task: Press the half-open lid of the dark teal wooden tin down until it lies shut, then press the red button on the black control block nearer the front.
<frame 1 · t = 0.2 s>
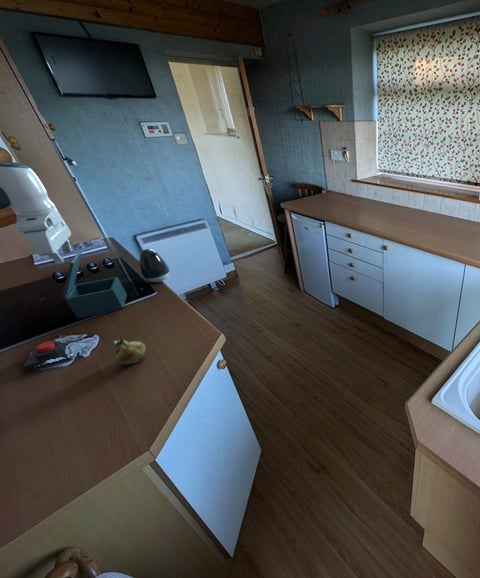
hand: (65, 257, 99), 25 cm above the worktop, tool pointing down, fingers open, 8 cm apart
onion: (134, 360, 92), on the worktop
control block: (54, 357, 93), on the worktop
lid: (72, 274, 108), point 15 cm above the worktop, hinge at 60.0°
black egg-shaped dome: (159, 280, 136), on the worktop
button: (46, 347, 90), point 4 cm above the worktop, slide at 0.1 cm
tin: (104, 306, 117), on the worktop
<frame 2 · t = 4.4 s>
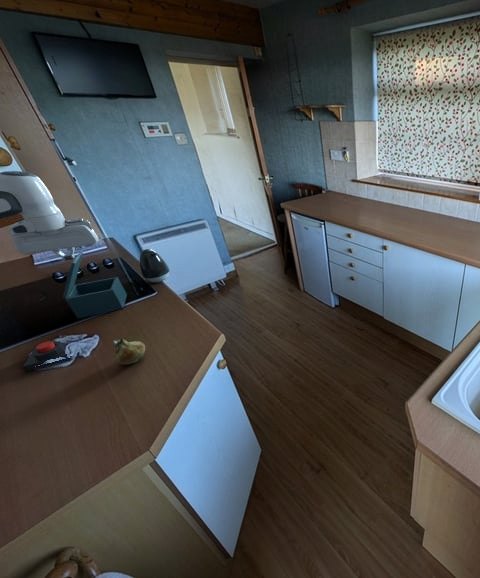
hand: (70, 259, 105), 21 cm above the worktop, tool pointing down, fingers closed
lid: (73, 274, 108), point 15 cm above the worktop, hinge at 58.6°, touching gripper
everything else where it was.
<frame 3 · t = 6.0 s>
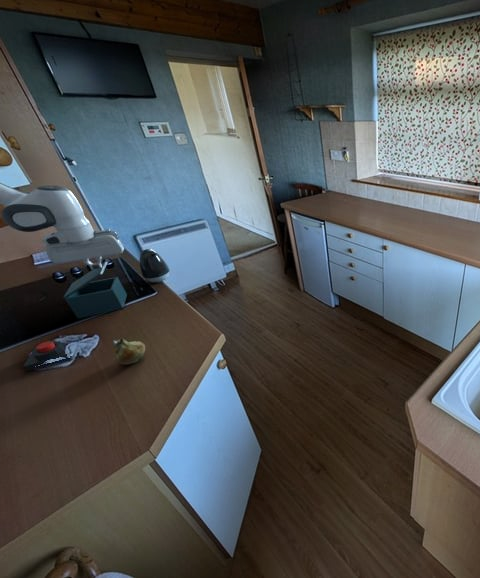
hand: (97, 268, 111), 16 cm above the worktop, tool pointing down, fingers closed
lid: (86, 279, 110), point 13 cm above the worktop, hinge at 27.1°, touching gripper
everything else where it was.
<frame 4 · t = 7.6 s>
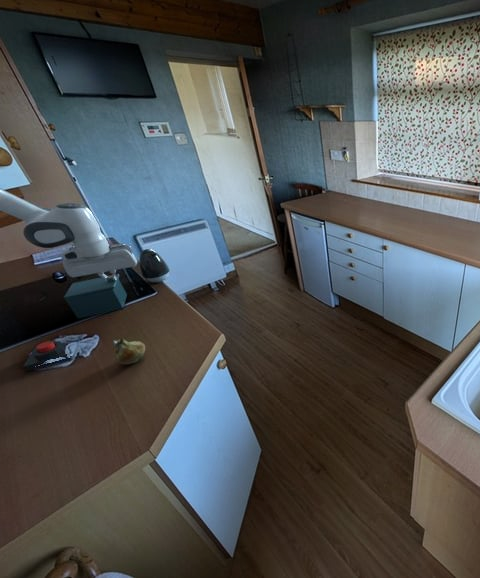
hand: (111, 280, 115), 10 cm above the worktop, tool pointing down, fingers closed, pressing on lid
lid: (93, 285, 112), point 9 cm above the worktop, hinge at 1.4°, touching gripper
everything else where it was.
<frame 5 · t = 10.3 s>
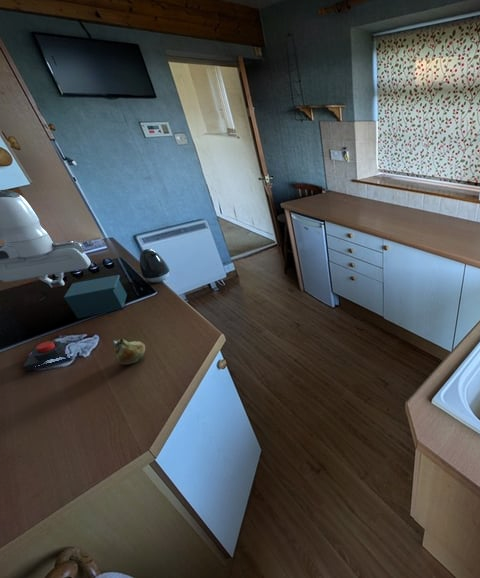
hand: (58, 285, 95), 19 cm above the worktop, tool pointing down, fingers closed
lid: (93, 286, 112), point 9 cm above the worktop, hinge at -0.2°, touching tin
everything else where it was.
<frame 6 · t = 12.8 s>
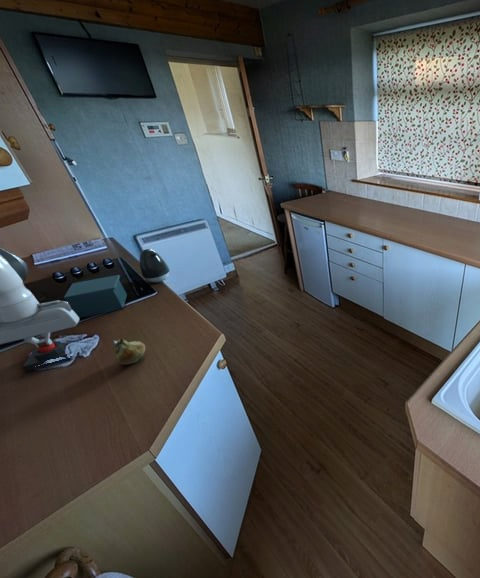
hand: (45, 345, 90), 5 cm above the worktop, tool pointing down, fingers closed, pressing on button
button: (46, 347, 90), point 4 cm above the worktop, slide at -0.1 cm, touching gripper
everything else where it was.
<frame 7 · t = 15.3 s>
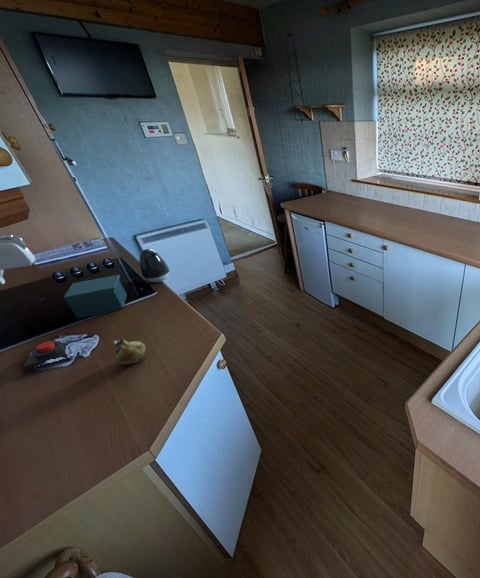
button: (46, 347, 90), point 4 cm above the worktop, slide at 0.1 cm
everything else where it was.
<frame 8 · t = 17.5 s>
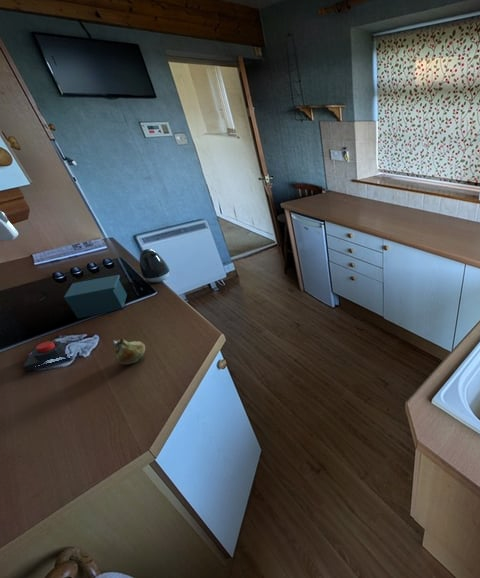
nothing on the worktop moved.
at the end: lid at +0° (first picture: +60°); button pushed in 1.0 cm at the most during the clip, back to where it started at the end; button slide at 0.1 cm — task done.
